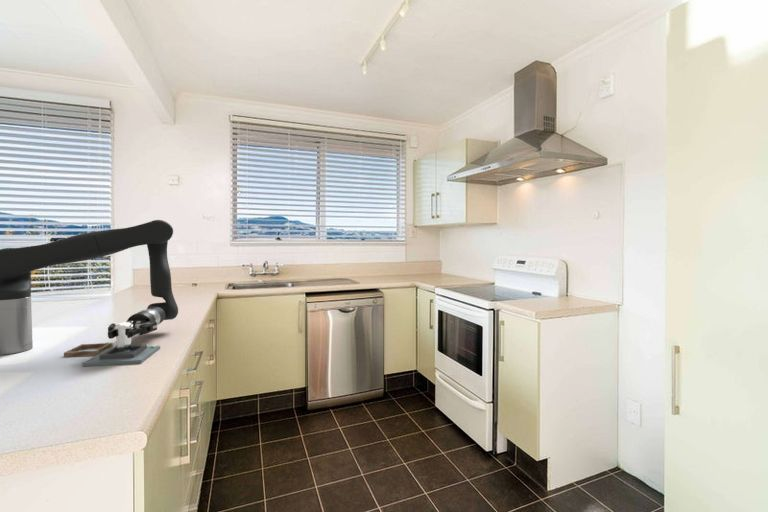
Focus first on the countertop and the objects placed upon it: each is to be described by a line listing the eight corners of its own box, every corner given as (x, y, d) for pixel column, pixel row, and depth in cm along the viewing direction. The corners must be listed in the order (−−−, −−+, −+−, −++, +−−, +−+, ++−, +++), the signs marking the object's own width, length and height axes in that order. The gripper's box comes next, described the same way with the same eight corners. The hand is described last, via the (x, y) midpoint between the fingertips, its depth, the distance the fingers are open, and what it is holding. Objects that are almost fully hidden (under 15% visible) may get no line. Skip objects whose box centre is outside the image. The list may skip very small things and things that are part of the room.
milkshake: (125, 355, 107) (125, 322, 106) (110, 352, 108) (110, 320, 107) (138, 350, 111) (138, 319, 111) (124, 348, 112) (124, 317, 112)
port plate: (82, 366, 101) (82, 359, 101) (108, 351, 115) (108, 344, 115) (141, 363, 104) (141, 355, 104) (160, 348, 118) (160, 342, 118)
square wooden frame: (63, 356, 109) (63, 352, 109) (81, 347, 118) (81, 344, 118) (97, 355, 111) (97, 351, 111) (112, 346, 120) (112, 342, 120)
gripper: (120, 311, 121) (91, 323, 105) (166, 310, 124) (145, 322, 108) (121, 332, 122) (92, 348, 105) (167, 331, 125) (146, 346, 108)
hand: (119, 335), depth 107 cm, fingers closed on milkshake, 4 cm apart
